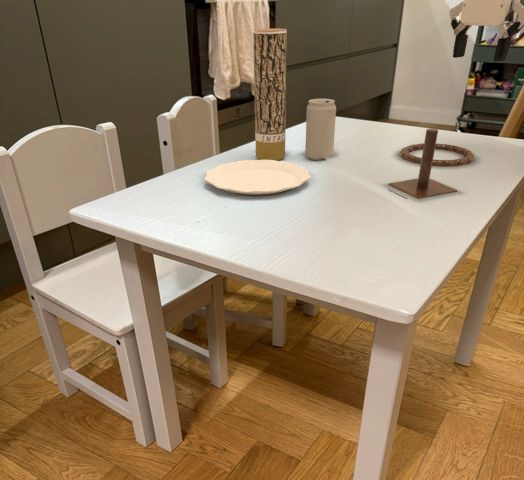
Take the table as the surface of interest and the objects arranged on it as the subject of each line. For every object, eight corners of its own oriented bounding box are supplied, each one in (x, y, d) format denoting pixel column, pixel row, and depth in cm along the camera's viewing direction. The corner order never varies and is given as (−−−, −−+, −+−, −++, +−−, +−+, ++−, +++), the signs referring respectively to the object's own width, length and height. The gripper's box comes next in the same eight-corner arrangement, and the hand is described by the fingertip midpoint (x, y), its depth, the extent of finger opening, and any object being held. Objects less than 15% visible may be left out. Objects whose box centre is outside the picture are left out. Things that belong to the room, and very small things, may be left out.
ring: (439, 148, 120) (441, 139, 119) (489, 165, 109) (491, 155, 107) (384, 156, 115) (385, 147, 114) (431, 175, 103) (432, 165, 102)
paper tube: (250, 156, 116) (247, 29, 102) (276, 152, 119) (276, 28, 104) (264, 163, 112) (262, 31, 97) (290, 159, 114) (293, 29, 99)
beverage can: (329, 162, 112) (333, 103, 105) (301, 160, 113) (303, 102, 106) (335, 155, 116) (339, 98, 109) (308, 153, 118) (310, 97, 111)
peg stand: (424, 183, 99) (435, 122, 93) (456, 196, 93) (470, 132, 86) (387, 189, 96) (395, 127, 90) (417, 204, 90) (428, 138, 83)
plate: (239, 162, 112) (239, 155, 111) (325, 175, 104) (325, 166, 103) (185, 189, 98) (184, 181, 97) (280, 206, 89) (280, 197, 88)
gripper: (555, -48, 90) (527, 61, 100) (472, -44, 101) (454, 54, 111) (532, -49, 86) (505, 64, 96) (448, -44, 98) (432, 57, 108)
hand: (478, 59), depth 104 cm, fingers open, 9 cm apart
